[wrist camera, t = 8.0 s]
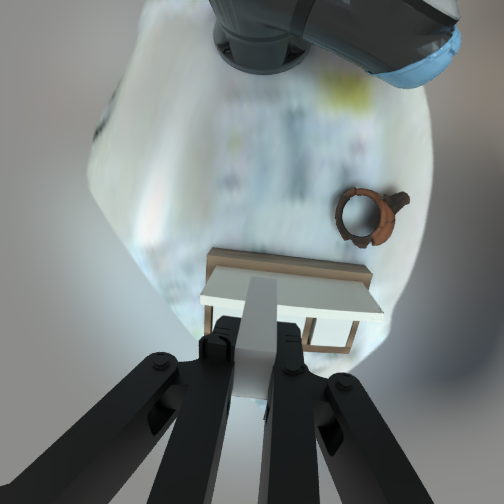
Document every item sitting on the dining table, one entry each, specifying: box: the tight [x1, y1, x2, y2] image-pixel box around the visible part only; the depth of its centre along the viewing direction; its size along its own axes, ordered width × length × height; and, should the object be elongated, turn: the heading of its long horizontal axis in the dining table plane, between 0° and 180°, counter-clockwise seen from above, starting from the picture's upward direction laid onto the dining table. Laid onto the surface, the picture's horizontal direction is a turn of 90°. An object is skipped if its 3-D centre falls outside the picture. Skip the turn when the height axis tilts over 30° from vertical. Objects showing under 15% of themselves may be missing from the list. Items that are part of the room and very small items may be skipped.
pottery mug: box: [335, 187, 410, 248], centre depth 38 cm, size 12×10×8 cm
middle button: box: [277, 314, 306, 338], centre depth 42 cm, size 6×6×3 cm
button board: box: [204, 248, 373, 354], centre depth 44 cm, size 15×25×4 cm, turn 84°
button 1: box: [212, 306, 243, 332], centre depth 43 cm, size 6×6×3 cm
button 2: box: [309, 318, 353, 347], centre depth 43 cm, size 6×6×3 cm
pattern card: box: [200, 265, 384, 322], centre depth 35 cm, size 2×22×10 cm, turn 84°
